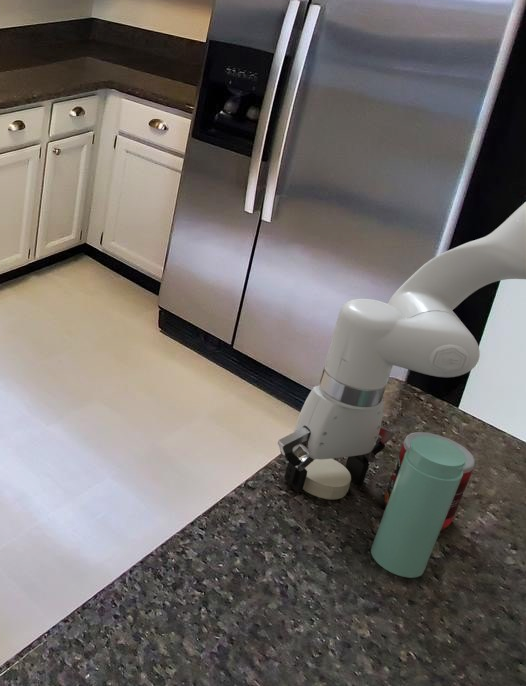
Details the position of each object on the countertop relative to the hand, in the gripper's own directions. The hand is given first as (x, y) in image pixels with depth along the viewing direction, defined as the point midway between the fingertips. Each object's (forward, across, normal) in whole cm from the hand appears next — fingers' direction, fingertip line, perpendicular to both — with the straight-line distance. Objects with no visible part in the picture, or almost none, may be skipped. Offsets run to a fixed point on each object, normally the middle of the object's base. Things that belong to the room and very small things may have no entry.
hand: (322, 481), depth 117 cm
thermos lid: (-2, 0, 0) cm, 2 cm away
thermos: (0, 0, +14) cm, 15 cm away
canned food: (+1, -9, +7) cm, 12 cm away
